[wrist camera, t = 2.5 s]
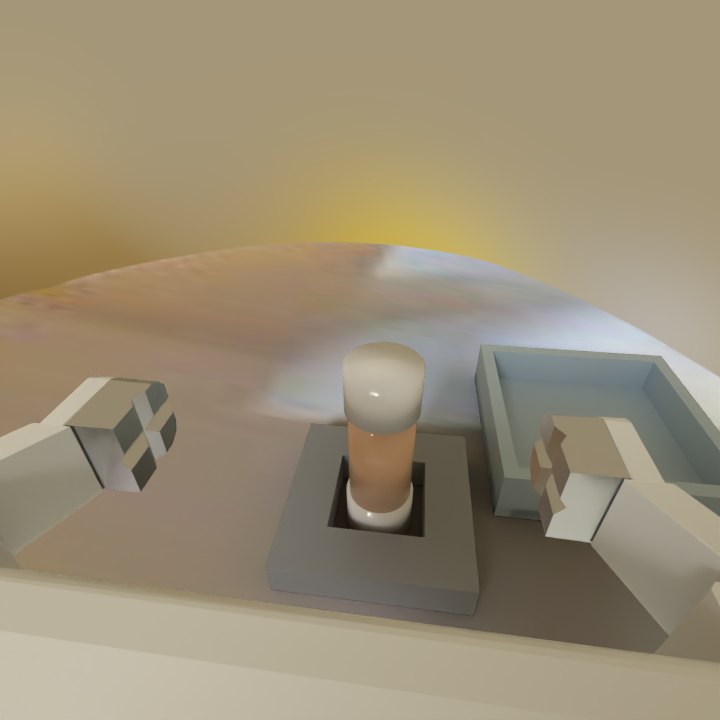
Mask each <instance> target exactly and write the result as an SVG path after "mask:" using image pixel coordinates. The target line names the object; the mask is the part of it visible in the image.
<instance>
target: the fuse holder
mask: <svg viewBox="0 0 720 720" xmlns="http://www.w3.org/2000/svg"><path fill="white" fill-rule="evenodd" d="M343 478H349V446H348V427H347V426H335V425H324V424H312V423H311V426H310V429H309V432H308V435H307V438H306V441H305V445H304V448H303V451H302V454H301V457H300V460H299V463H298V467H297V470H296V473H295V476H294V479H293V482H292V485H291V489H290V492H289V495H288V498H287V501H286V504H285V507H284V511H283V514H282V517H281V520H280V523H279V526H278V529H277V533H276V536H275V539H274V542H273V545H272V548H271V551H270V555H269V558H268V561H267V564H266V571H267V575H268V579H269V584H270V588H271V590H277V591H285V592H293V593H300V594H308V595H316V596H324V597H331V598H339V599H347V600H355V601H363V602H370V603H378V604H386V605H394V606H401V607H409V608H417V609H425V610H433V611H440V612H448V613H456V614H464V615H471V616H473V615H474V612H475V608H476V605H477V601H478V598H479V595H480V589H479V578H478V568H477V557H476V547H475V536H474V526H473V515H472V505H471V495H470V484H469V474H468V463H467V453H466V442H465V437H463V436H451V435H440V434H428V433H417V432H416V433H415V444H414V455H413V466H412V476H411V482H412V485H421V486H423V488H422V537H416V536H407V535H398V534H389V533H380V532H371V531H362V530H353V529H344V528H335V527H334V522H335V517H336V512H337V507H338V502H339V497H340V492H341V487H342V482H343Z"/></svg>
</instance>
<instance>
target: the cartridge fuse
mask: <svg viewBox="0 0 720 720" xmlns="http://www.w3.org/2000/svg"><path fill="white" fill-rule="evenodd" d="M424 377H425V362H424V360H423V358H422V357H421V356H420V355H419V354H418V353H417V352H416V351H414V350H413V349H411V348H409V347H406V346H404V345H400V344H396V343H389V342H376V343H369V344H365V345H362V346H359V347H357V348H355V349H353V350H352V351H350V352H349V353H348V354H347V355H346V357H345V358H344V360H343V394H344V412H345V415H346V417H347V419H348V446H349V480H348V482H347V514H348V523H349V526H350V528H351V529H353V530H362V531H371V532H380V533H389V534H398V535H404V534H405V533H406V531H407V530H408V527H409V525H410V519H411V508H412V498H413V485H412V482H411V476H412V466H413V455H414V444H415V433H416V423H417V421H418V419H419V417H420V415H421V407H422V397H423V387H424Z"/></svg>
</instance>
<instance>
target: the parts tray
mask: <svg viewBox="0 0 720 720" xmlns="http://www.w3.org/2000/svg"><path fill="white" fill-rule="evenodd" d="M475 384H476V392H477V399H478V406H479V413H480V420H481V427H482V434H483V441H484V448H485V455H486V462H487V469H488V476H489V483H490V490H491V497H492V504H493V511H494V516H503V517H513V518H523V519H532V520H541V518H540V514H539V510H538V505H539V502H540V499H541V496H540V495H539V494H538V493H537V492H536V491H535V490H534V489H533V485H532V481H531V473H530V462H531V454H532V450H533V446H534V443H536V442H537V441H539V440H540V439H542V436H541V432H540V429H539V427H540V424H541V421H542V418H543V417H544V415H545V414H546V413H549V414H562V415H576V416H589V417H612V418H626V419H628V420H629V421H630V422H631V423H632V425H633V426H634V428H635V430H636V432H637V434H638V435H639V437H640V439H641V441H642V442H643V444H644V446H645V448H646V450H647V451H648V453H649V455H650V457H651V458H652V460H653V462H654V464H655V466H656V467H657V469H658V471H659V473H660V475H661V476H662V478H663V480H664V482H665V483H670V484H675V485H676V486H678V487H679V488H680V489H682V490H683V491H685V492H686V493H687V494H689V495H690V496H691V497H693V498H694V499H696V500H697V501H698V502H700V503H701V504H703V505H704V506H705V507H707V508H708V509H709V510H711V511H712V512H714V513H715V514H716V515H718V516H719V517H720V432H719V431H718V429H717V428H716V427H715V425H714V424H713V423H712V421H711V420H710V419H709V418H708V416H707V415H706V414H705V412H704V411H703V410H702V408H701V407H700V406H699V405H698V403H697V402H696V401H695V399H694V398H693V397H692V396H691V394H690V393H689V392H688V390H687V389H686V388H685V386H684V385H683V384H682V383H681V381H680V380H679V379H678V377H677V376H676V375H675V373H674V372H673V371H672V370H671V368H670V367H669V366H668V364H667V363H666V362H665V361H664V359H663V358H662V357H661V356H650V355H635V354H619V353H604V352H588V351H572V350H557V349H541V348H526V347H510V346H494V345H481V346H480V352H479V357H478V363H477V368H476V374H475Z"/></svg>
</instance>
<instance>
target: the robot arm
mask: <svg viewBox="0 0 720 720" xmlns="http://www.w3.org/2000/svg"><path fill="white" fill-rule="evenodd" d="M167 398H168V394H167V391H166V388H165V386H164V384H162V383H160V382H157V381H148V380H138V379H129V378H119V377H117V378H115V377H106V376H93V377H89V378H88V379H87V380H86V381H84V382H83V383H82V384H81V385H80V386H79V387H78V388H77V389H76V390H75V391H74V392H73V393H72V394H71V395H70V396H68V397H67V398H66V399H65V400H64V401H63V402H62V403H61V404H60V405H59V406H58V407H57V408H56V409H55V410H54V411H52V412H51V413H50V414H49V415H48V416H47V417H46V418H45V419H44V420H43V421H42V422H41V423H40V424H38V423H32V424H29V425H27V426H25V427H23V428H20V429H18V430H16V431H13V432H11V433H9V434H7V435H4V436H2V437H0V720H720V517H719V516H718V515H716V514H715V513H714V512H712V511H711V510H709V509H708V508H707V507H705V506H704V505H703V504H701V503H700V502H698V501H697V500H696V499H694V498H693V497H691V496H690V495H689V494H687V493H686V492H685V491H683V490H682V489H680V488H679V487H678V486H676V485H675V484H670V483H665V482H664V480H663V478H662V476H661V475H660V473H659V471H658V469H657V467H656V466H655V464H654V462H653V460H652V458H651V457H650V455H649V453H648V451H647V450H646V448H645V446H644V444H643V442H642V441H641V439H640V437H639V435H638V434H637V432H636V430H635V428H634V426H633V425H632V423H631V422H630V421H629V420H628V419H626V418H612V417H589V416H576V415H562V414H549V413H546V414H545V415H544V417H543V418H542V421H541V424H540V427H539V429H540V432H541V436H542V439H540V440H539V441H537V442H536V443H534V446H533V450H532V454H531V462H530V473H531V481H532V485H533V489H534V490H535V491H536V492H537V493H538V494H539V495H540V496H541V499H540V502H539V505H538V510H539V514H540V518H541V522H542V526H543V530H544V534H545V536H546V537H553V538H560V539H568V540H575V541H582V542H590V543H591V546H592V547H593V548H594V549H595V550H596V552H597V553H598V554H599V555H600V556H601V557H602V559H603V560H604V561H605V562H606V563H607V564H608V566H609V567H610V568H611V569H612V570H613V571H614V572H615V574H616V575H617V576H618V577H619V578H620V579H621V581H622V582H623V583H624V584H625V585H626V586H627V588H628V589H629V590H630V591H631V592H632V593H633V595H634V596H635V597H636V598H637V599H638V600H639V602H640V603H641V604H642V605H643V606H644V607H645V609H646V610H647V611H648V612H649V613H650V614H651V616H652V617H653V618H654V619H655V620H656V621H657V623H658V624H659V625H660V626H661V627H662V628H663V630H664V631H665V632H666V633H667V634H668V635H669V637H668V638H667V639H666V640H665V641H664V643H663V644H662V645H661V646H660V647H659V648H658V650H657V651H656V652H655V653H654V654H650V653H642V652H635V651H627V650H620V649H612V648H605V647H597V646H590V645H582V644H575V643H567V642H560V641H552V640H545V639H537V638H530V637H522V636H515V635H508V634H500V633H493V632H485V631H478V630H470V629H463V628H455V627H448V626H440V625H433V624H425V623H418V622H410V621H403V620H395V619H388V618H380V617H373V616H365V615H358V614H351V613H343V612H336V611H328V610H321V609H313V608H306V607H298V606H291V605H283V604H275V603H268V602H260V601H253V600H245V599H238V598H230V597H223V596H215V595H208V594H200V593H192V592H185V591H177V590H170V589H162V588H155V587H147V586H140V585H133V584H125V583H118V582H110V581H103V580H95V579H88V578H80V577H73V576H65V575H58V574H50V573H43V572H36V571H28V570H24V569H23V568H22V567H21V565H20V564H19V563H18V562H17V560H16V559H15V558H14V557H13V555H15V554H16V553H17V552H19V551H20V550H22V549H23V548H24V547H26V546H27V545H29V544H30V543H31V542H33V541H34V540H36V539H37V538H38V537H40V536H41V535H42V534H44V533H45V532H47V531H48V530H49V529H51V528H52V527H54V526H55V525H56V524H58V523H59V522H61V521H62V520H63V519H65V518H66V517H67V516H69V515H70V514H72V513H73V512H74V511H76V510H77V509H79V508H80V507H81V506H83V505H84V504H86V503H87V502H88V501H90V500H91V499H93V498H94V497H95V496H97V495H98V494H99V493H101V492H102V491H103V489H110V490H123V491H135V492H141V491H142V489H143V488H144V486H145V485H146V483H147V482H148V480H149V479H150V477H151V476H152V474H153V473H154V471H155V470H156V468H157V467H156V461H155V459H157V458H158V457H160V456H162V455H163V454H165V453H167V451H168V450H169V448H170V446H171V445H172V443H173V441H174V437H175V433H176V418H175V415H174V412H173V411H172V410H171V409H170V408H169V407H168V406H167V405H166V404H165V401H166V400H167Z"/></svg>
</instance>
